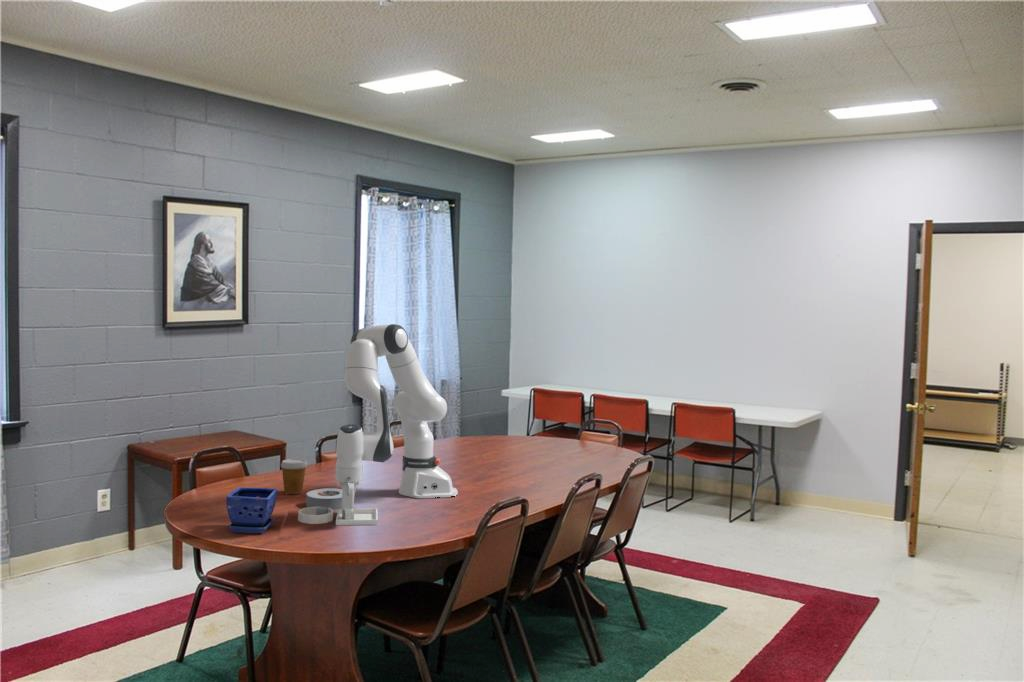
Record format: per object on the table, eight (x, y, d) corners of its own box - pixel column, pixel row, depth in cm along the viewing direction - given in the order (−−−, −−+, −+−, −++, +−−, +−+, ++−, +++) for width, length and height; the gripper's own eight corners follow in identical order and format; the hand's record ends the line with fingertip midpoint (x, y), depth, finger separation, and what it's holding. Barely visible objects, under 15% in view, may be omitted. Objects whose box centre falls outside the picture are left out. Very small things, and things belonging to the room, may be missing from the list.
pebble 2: (354, 517, 277) (354, 506, 276) (354, 520, 273) (354, 510, 272) (342, 517, 276) (342, 506, 276) (341, 520, 272) (341, 510, 272)
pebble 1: (328, 517, 275) (328, 507, 275) (327, 520, 271) (327, 510, 271) (316, 517, 275) (316, 506, 274) (315, 520, 271) (315, 510, 270)
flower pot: (278, 524, 268) (279, 487, 267) (267, 536, 255) (268, 497, 254) (236, 523, 268) (237, 486, 267) (223, 534, 254) (224, 496, 254)
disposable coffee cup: (311, 491, 313) (311, 460, 312) (298, 497, 304) (298, 464, 303) (288, 489, 316) (289, 457, 315) (275, 494, 306) (275, 462, 306)
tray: (377, 515, 283) (377, 508, 283) (377, 527, 269) (377, 520, 269) (337, 515, 281) (338, 508, 281) (335, 527, 267) (335, 520, 266)
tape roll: (306, 513, 283) (307, 498, 283) (305, 502, 298) (305, 488, 297) (352, 512, 287) (353, 497, 287) (348, 501, 302) (349, 487, 302)
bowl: (333, 517, 279) (334, 506, 279) (331, 526, 268) (332, 515, 268) (299, 517, 277) (300, 506, 277) (296, 526, 266) (297, 515, 266)
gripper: (358, 481, 264) (357, 524, 264) (359, 468, 284) (358, 508, 285) (337, 481, 263) (336, 524, 263) (340, 468, 283) (339, 508, 284)
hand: (348, 516), depth 274 cm, fingers closed on pebble 2, 4 cm apart
